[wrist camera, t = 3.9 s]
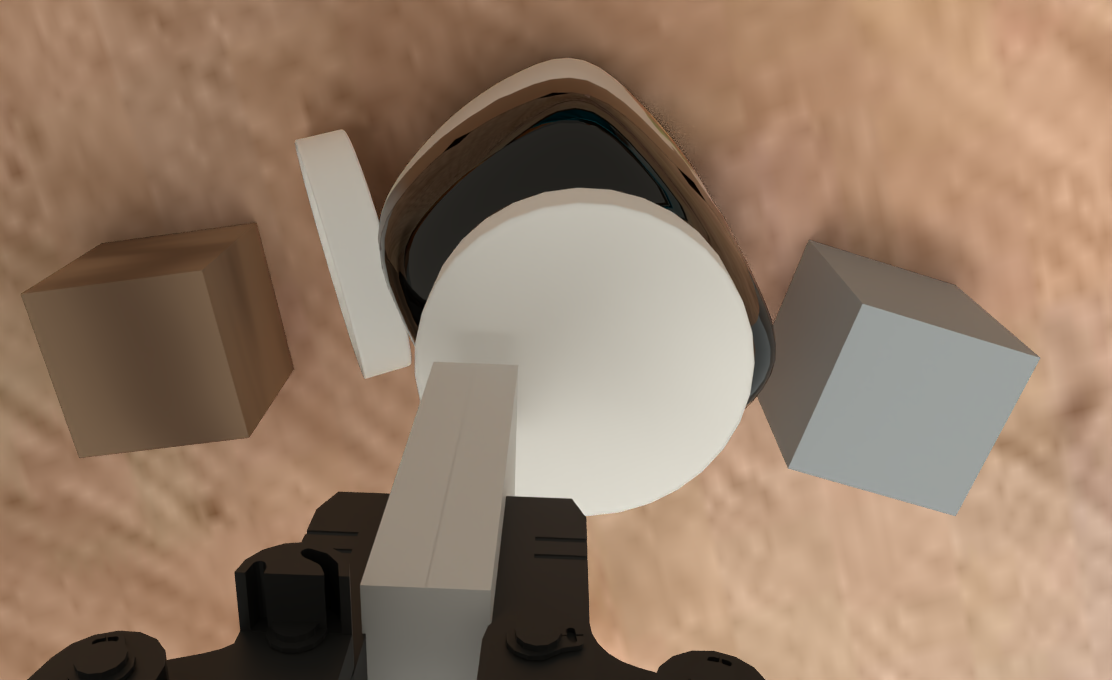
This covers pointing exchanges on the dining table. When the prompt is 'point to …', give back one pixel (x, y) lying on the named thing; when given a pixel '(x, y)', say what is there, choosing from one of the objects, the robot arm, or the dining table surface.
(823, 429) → the slate block
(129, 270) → the walnut block
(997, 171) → the dining table surface
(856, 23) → the dining table surface
